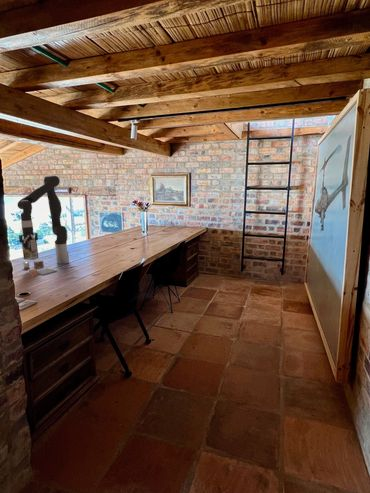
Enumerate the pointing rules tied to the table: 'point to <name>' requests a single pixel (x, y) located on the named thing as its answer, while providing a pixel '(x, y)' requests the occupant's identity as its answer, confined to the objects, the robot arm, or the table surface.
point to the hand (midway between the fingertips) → (29, 246)
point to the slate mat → (46, 271)
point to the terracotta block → (33, 272)
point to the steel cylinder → (26, 265)
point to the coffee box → (30, 250)
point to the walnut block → (38, 264)
